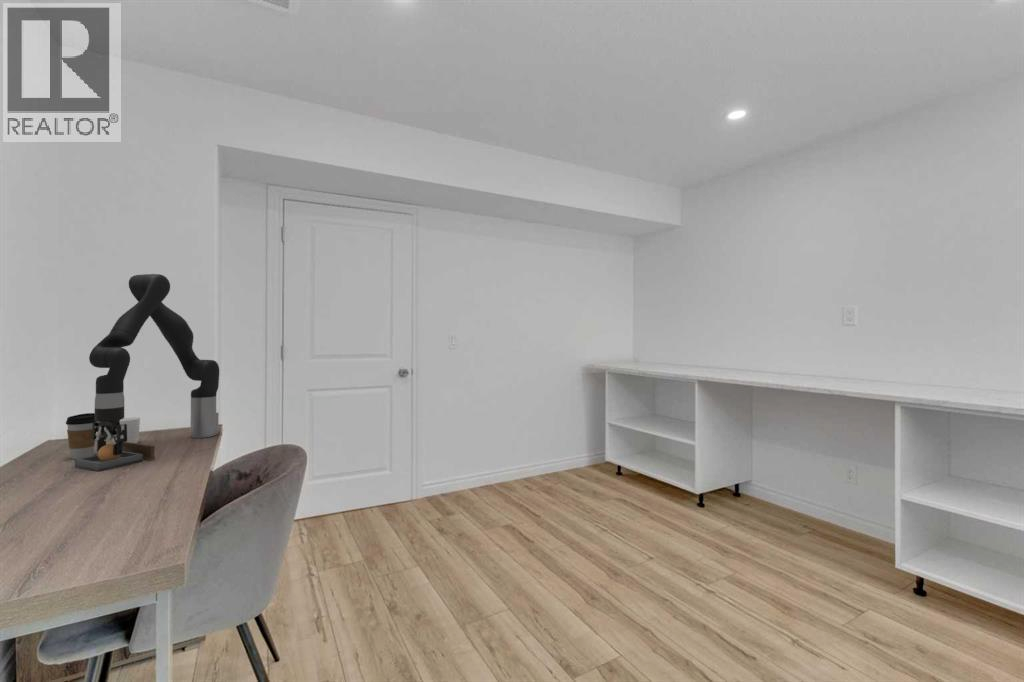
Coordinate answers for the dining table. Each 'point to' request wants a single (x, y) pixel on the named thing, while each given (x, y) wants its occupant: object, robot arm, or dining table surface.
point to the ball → (107, 453)
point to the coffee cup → (81, 435)
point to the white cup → (131, 428)
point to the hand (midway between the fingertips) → (109, 453)
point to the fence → (140, 449)
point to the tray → (99, 465)
